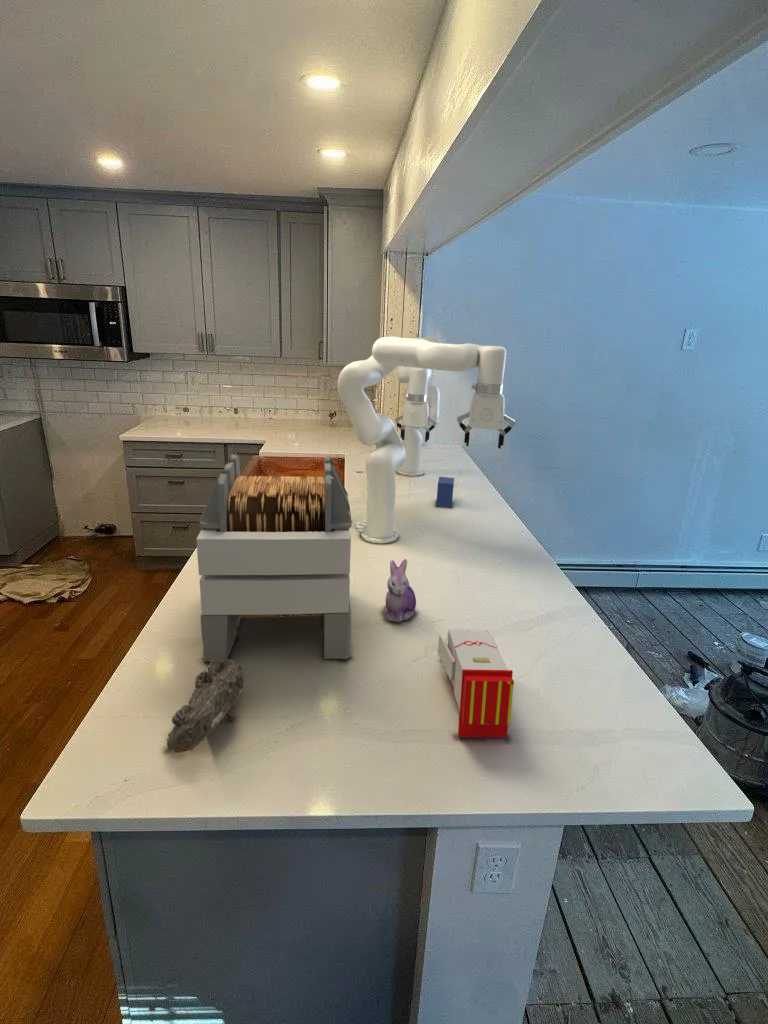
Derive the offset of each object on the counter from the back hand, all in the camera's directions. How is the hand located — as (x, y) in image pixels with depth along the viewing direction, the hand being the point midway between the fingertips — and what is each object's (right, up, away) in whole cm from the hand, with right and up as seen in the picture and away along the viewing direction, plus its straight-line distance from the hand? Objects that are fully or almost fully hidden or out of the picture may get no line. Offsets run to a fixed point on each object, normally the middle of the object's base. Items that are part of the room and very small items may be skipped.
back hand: (414, 440), depth 233 cm
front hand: (+18, -9, -61) cm, 64 cm away
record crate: (-38, -57, -92) cm, 115 cm away
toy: (+5, -67, -115) cm, 133 cm away
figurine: (-9, -56, -86) cm, 103 cm away
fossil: (-45, -69, -125) cm, 150 cm away
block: (+12, -26, 0) cm, 29 cm away
